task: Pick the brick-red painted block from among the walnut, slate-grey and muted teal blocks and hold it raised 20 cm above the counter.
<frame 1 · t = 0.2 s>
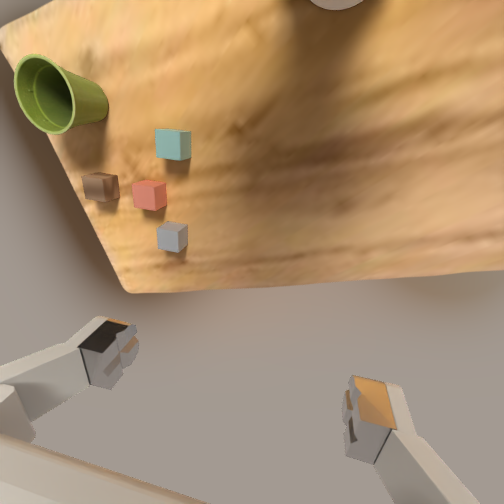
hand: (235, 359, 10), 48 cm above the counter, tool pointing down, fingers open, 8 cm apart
plant pot: (93, 101, 56), on the counter
slate grey block: (178, 232, 64), on the counter
muted teal block: (179, 143, 55), on the counter
brick-red block: (156, 192, 61), on the counter
walnut block: (109, 184, 63), on the counter
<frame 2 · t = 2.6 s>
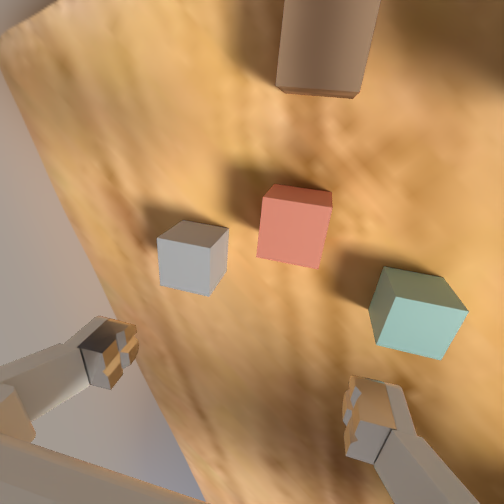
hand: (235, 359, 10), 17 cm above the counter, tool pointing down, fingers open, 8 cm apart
slate grey block: (205, 245, 29), on the counter
muted teal block: (403, 294, 26), on the counter
brick-red block: (297, 214, 25), on the counter
walnut block: (325, 56, 19), on the counter
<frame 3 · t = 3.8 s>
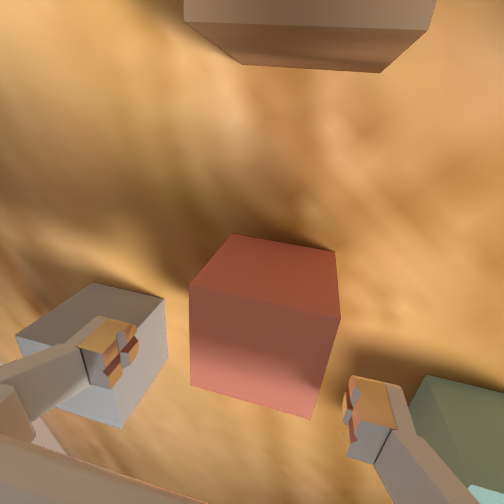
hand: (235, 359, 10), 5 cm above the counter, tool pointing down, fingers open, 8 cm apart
slate grey block: (132, 320, 18), on the counter
muted teal block: (457, 416, 15), on the counter
brick-red block: (275, 285, 14), on the counter
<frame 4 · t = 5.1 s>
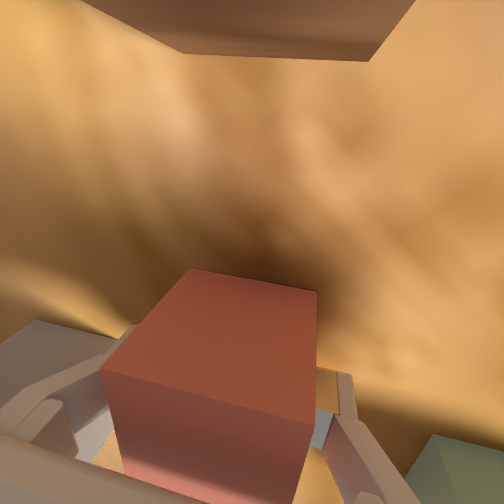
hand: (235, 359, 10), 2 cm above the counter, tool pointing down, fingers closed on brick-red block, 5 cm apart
slate grey block: (86, 362, 15), on the counter
muted teal block: (470, 479, 12), on the counter
brick-red block: (246, 329, 11), on the counter, touching gripper
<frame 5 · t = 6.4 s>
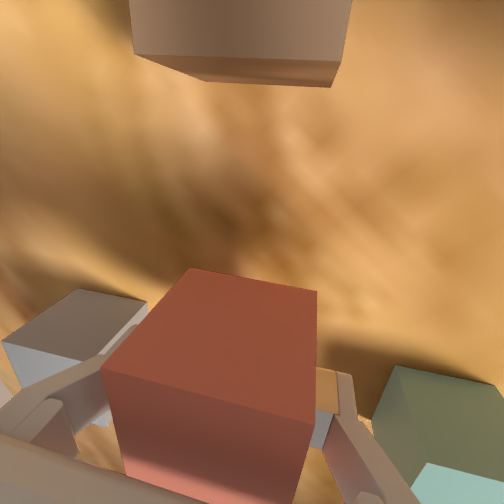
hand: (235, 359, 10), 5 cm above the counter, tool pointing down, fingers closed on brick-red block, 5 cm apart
slate grey block: (118, 324, 19), on the counter
muted teal block: (426, 403, 16), on the counter
brick-red block: (246, 328, 11), point 4 cm above the counter, touching gripper
walnut block: (272, 2, 10), on the counter
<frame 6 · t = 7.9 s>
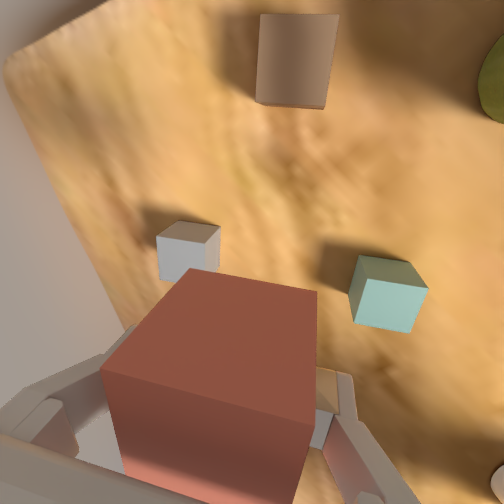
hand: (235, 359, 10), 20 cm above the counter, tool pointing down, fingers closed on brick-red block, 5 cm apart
slate grey block: (199, 243, 31), on the counter
muted teal block: (377, 278, 29), on the counter
brick-red block: (246, 329, 11), point 18 cm above the counter, touching gripper
walnut block: (298, 74, 23), on the counter
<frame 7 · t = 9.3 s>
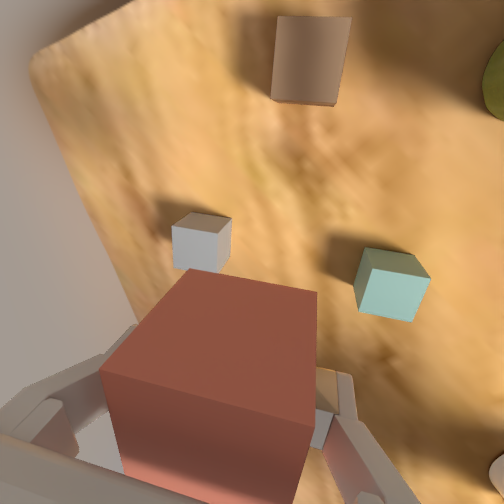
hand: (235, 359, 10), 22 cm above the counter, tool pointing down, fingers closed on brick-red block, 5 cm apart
slate grey block: (211, 234, 33), on the counter
muted teal block: (382, 270, 30), on the counter
brick-red block: (246, 329, 11), point 20 cm above the counter, touching gripper
walnut block: (310, 72, 24), on the counter
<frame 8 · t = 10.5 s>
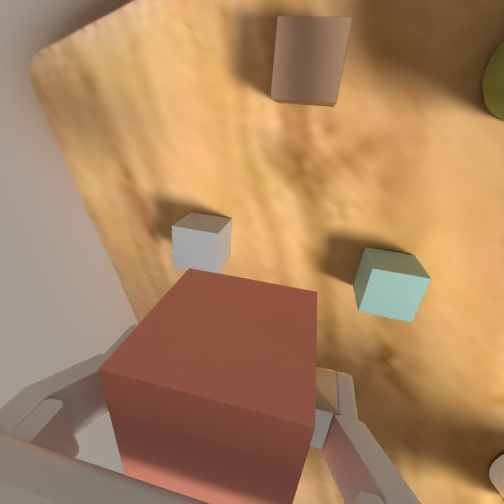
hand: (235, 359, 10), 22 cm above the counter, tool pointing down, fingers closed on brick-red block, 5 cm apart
slate grey block: (211, 234, 33), on the counter
muted teal block: (382, 270, 30), on the counter
brick-red block: (246, 329, 11), point 20 cm above the counter, touching gripper
walnut block: (310, 72, 24), on the counter
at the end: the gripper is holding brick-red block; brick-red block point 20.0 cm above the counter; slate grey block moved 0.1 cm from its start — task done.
